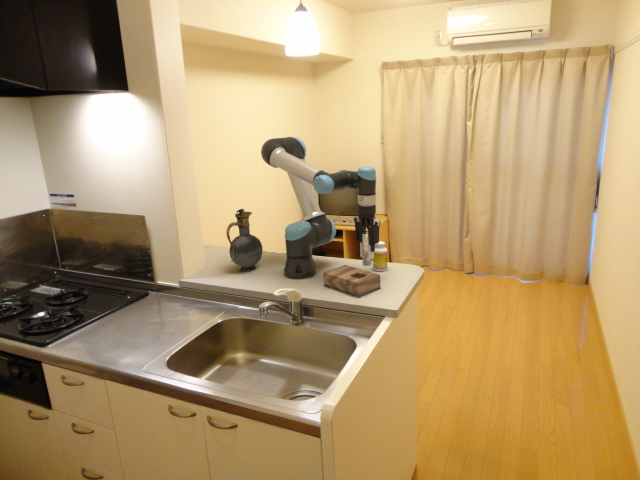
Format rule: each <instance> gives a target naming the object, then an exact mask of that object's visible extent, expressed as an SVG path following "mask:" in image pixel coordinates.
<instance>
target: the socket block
mask: <svg viewBox="0 0 640 480" xmlns="http://www.w3.org/2000/svg"><path fill="white" fill-rule="evenodd" d="M323 286H324V287H327V288H330V289H332V290H336V291H338V292H341V293H344V294H347V295H349V294H350V295H349V296H353V297H355V298H361V297H363V296H367V295H369V294H371V293H373V292H375V291H379V290H380V289H382V288H381V274H379V273H375V272H371V271H368V270H365V269H361V268H357V267H354V266H351V265H346V264H344V265H341V266H338V267H335V268H333V269H329V270H327V271H324V272H323Z"/></svg>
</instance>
